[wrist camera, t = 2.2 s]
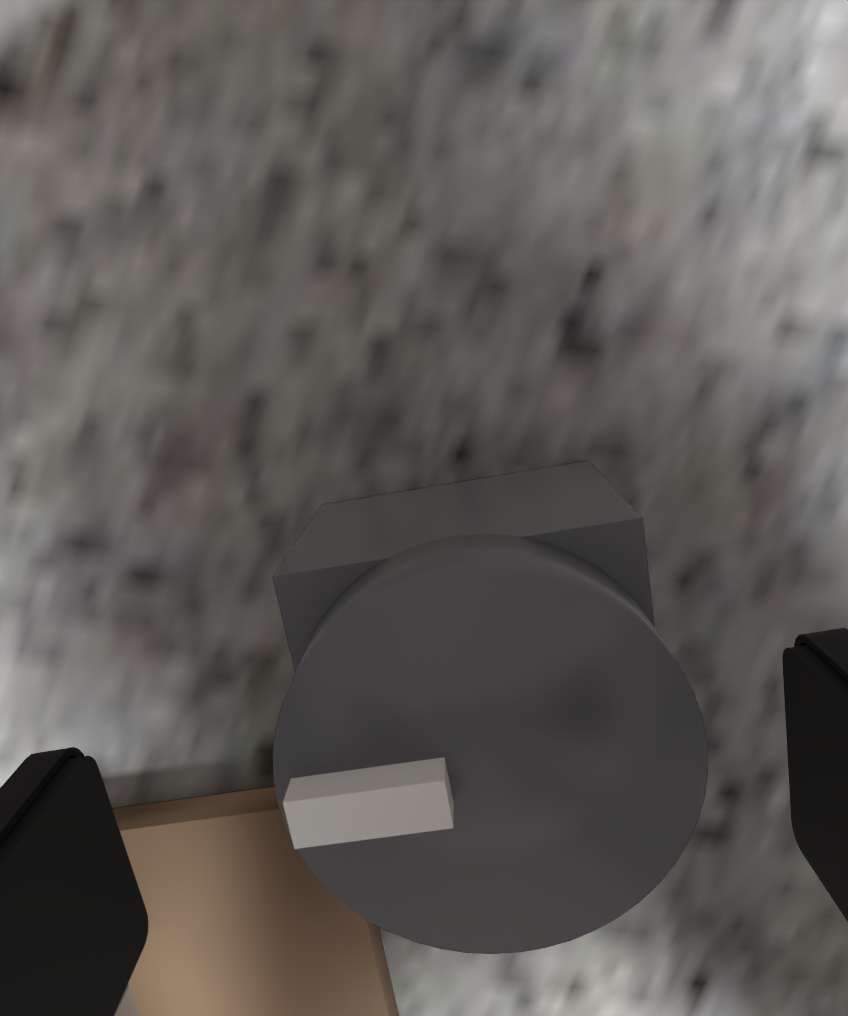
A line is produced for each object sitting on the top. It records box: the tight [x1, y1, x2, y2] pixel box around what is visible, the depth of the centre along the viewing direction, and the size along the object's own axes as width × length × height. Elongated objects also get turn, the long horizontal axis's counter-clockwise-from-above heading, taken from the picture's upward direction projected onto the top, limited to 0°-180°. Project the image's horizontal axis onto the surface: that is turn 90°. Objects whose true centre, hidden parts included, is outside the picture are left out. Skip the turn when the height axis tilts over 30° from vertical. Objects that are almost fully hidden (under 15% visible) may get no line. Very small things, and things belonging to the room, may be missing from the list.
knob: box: [272, 461, 708, 954], centre depth 15 cm, size 7×7×7 cm
